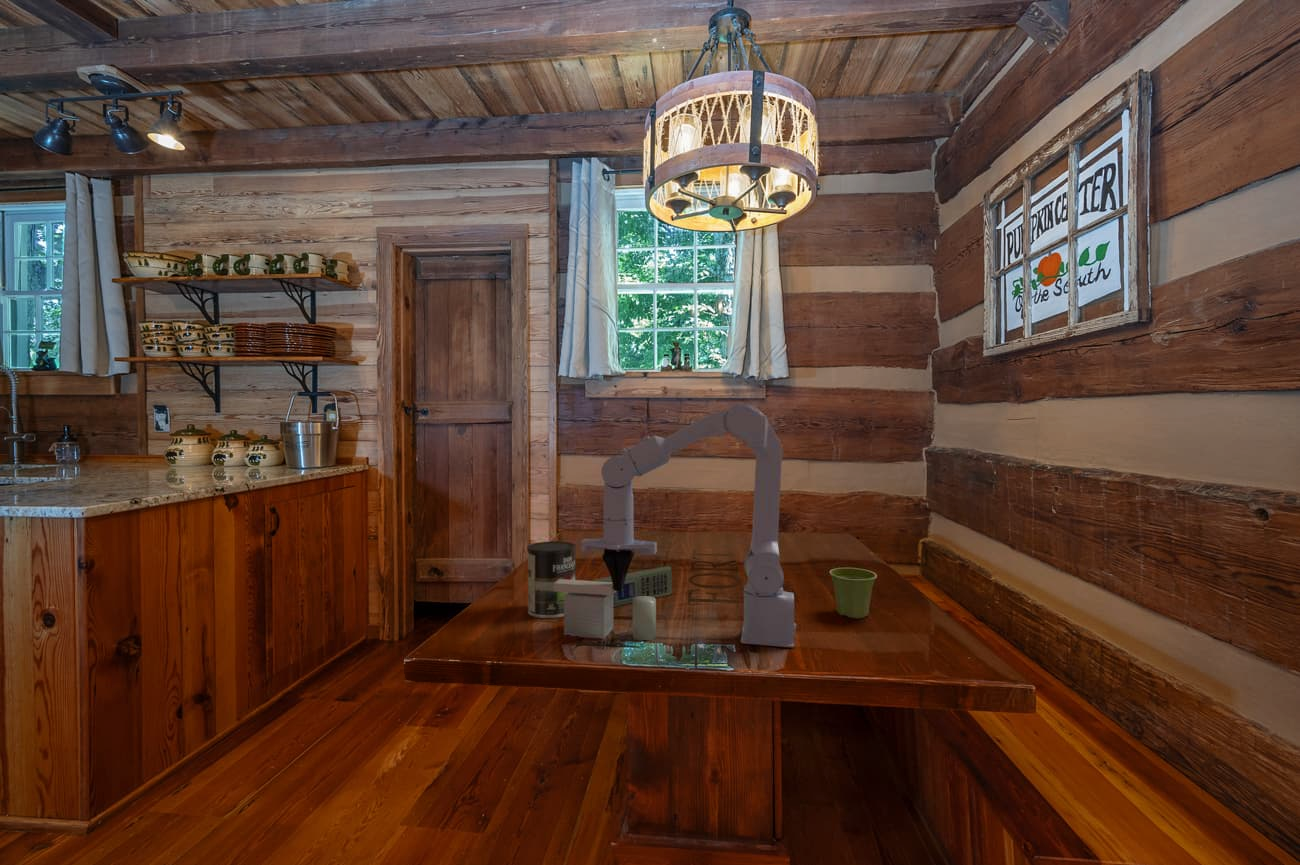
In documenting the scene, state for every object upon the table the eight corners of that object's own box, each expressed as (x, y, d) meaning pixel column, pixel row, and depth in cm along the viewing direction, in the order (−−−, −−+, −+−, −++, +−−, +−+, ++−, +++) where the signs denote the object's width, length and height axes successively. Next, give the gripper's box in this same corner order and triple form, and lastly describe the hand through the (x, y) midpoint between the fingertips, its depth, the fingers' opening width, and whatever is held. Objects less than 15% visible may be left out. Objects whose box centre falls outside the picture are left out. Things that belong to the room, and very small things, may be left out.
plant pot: (884, 621, 114) (884, 579, 114) (838, 621, 114) (838, 579, 114) (866, 606, 123) (866, 567, 123) (823, 607, 123) (823, 567, 123)
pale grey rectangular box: (616, 590, 109) (616, 582, 109) (611, 595, 106) (611, 586, 106) (560, 587, 112) (559, 579, 112) (554, 591, 109) (554, 583, 109)
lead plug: (658, 633, 108) (658, 596, 108) (653, 641, 104) (652, 603, 104) (636, 631, 109) (635, 595, 109) (630, 639, 105) (629, 602, 105)
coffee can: (585, 609, 122) (585, 544, 122) (550, 622, 114) (550, 553, 114) (553, 600, 128) (552, 538, 128) (517, 612, 120) (517, 546, 120)
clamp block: (613, 627, 111) (613, 589, 111) (604, 638, 105) (604, 599, 105) (575, 624, 113) (575, 587, 113) (564, 635, 107) (563, 596, 107)
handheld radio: (674, 596, 132) (580, 617, 118) (665, 593, 135) (572, 613, 120) (673, 567, 133) (579, 585, 118) (664, 565, 135) (572, 582, 121)
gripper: (575, 520, 105) (575, 593, 105) (650, 523, 102) (651, 598, 102) (587, 514, 112) (588, 582, 112) (659, 517, 109) (659, 587, 109)
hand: (618, 589), depth 107 cm, fingers closed
